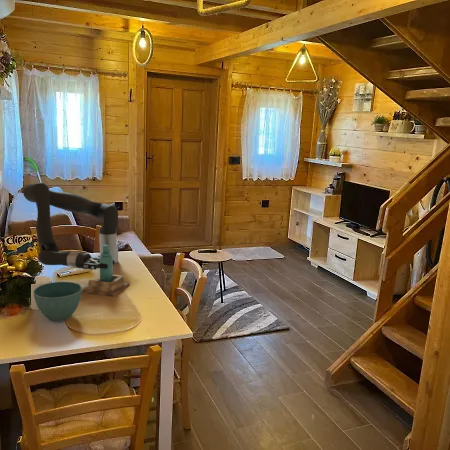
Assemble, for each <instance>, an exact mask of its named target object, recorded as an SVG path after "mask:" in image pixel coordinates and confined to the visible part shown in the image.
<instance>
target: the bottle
mask: <svg viewBox="0 0 450 450" xmlns="http://www.w3.org/2000/svg"><path fill="white" fill-rule="evenodd" d="M99 256H100V263H103V264H108V268H107V269H103V268H99V279H100V281H103V282H110V283H111V282H112V281H113V275H114V272H113V271H114V267H113V266H114V265H113V255H111V252H109V245H103V252H101V255H100V254H99Z"/></svg>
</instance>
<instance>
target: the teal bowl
mask: <svg viewBox="0 0 450 450" xmlns="http://www.w3.org/2000/svg"><path fill="white" fill-rule="evenodd" d="M82 294H83V288H82V285H81V284H79V283H76V282H73V281H56V282H55V281H54V282H53V281H52V283H48V284H44V285H41V286H39V287H37V288H36V289H35V290H34V298H35V301H36V304H37V306H38V308H39V310H38V311H40V313H41V314H42V315H43V316H44V317H45V318H46V319H47V320H48V321H50V322H55V323H56V322H64V321H67V320H68V318H69V319H70V318H71V317H72V316H73V315H74V313H75V311H76V310H77V308H78V306H79V304H80V301H81V298H82ZM66 319H67V320H66Z"/></svg>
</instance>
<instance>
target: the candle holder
mask: <svg viewBox="0 0 450 450" xmlns="http://www.w3.org/2000/svg"><path fill="white" fill-rule="evenodd" d="M34 277H35V280H36V284H31V305H30V304H29V305H30V306H29V307H30V309H32V310H33V311H40V310H39V308H38V306H37V304H36V301H35V298H34V290H35V289H36V288H37V287H39V286H41V285H44V284H48V283H53V278H52V277H51V276H46V275H45V276H43V275H42V276H34Z"/></svg>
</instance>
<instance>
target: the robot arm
mask: <svg viewBox="0 0 450 450" xmlns="http://www.w3.org/2000/svg"><path fill="white" fill-rule="evenodd" d="M22 195H23V197H24V198H25V199H26V200H27V201H29V202H30V203H35V204H36V208H37V218H36V225H35V227H36V235H37V241H38V244H39V245H41V246H44V248H45V249H44V250H41V251H40V252H39V253H38V254H37V255H38V256H37V259H38V261H39V263H41V264H43V265H45V266H65V267H70V268H75V269H81V270H82V269H83V270H95V271H96V270H97V269H99V270H100V268H103V269H107V268H108V264H103V263H100V255H101V252H103V245H109V252H111V255H113V266H114V265H115V264H116V263H118V262H119V245H117V237H118V236H117V230H118V227H119V209H118V208H117V206H115V205H111V204H108V203H104V202H103V203H102V202H95V201H92V200H89V199H88V198H87V197H84V196H81V195H80V194H79V195H78V194H75V193H71V192H67V191H66V192H65V191H55V190H51V189H50V188H49V186H48V185H47V184H46V183H44V182H32V183H29V184H27V185H26V186H25V187H24V188H23V191H22ZM51 207H54V208H57V209H60V210H64V211H67V212H71V213H75V214H80V215H81V214H83V215H89V216H93V217H96V218H98V219H99V220H101V221H103V225H102V226H101V227H99V231H98V232H99V255H97V257H96V256H93V257H92V256H91V254H90V253H88V252H79V251H67V250H61V251H60V249H59V247H58V245H57V243H56V241H55V239H54V233H53V227H52V223H51V222H52V221H51V220H52V219H51Z"/></svg>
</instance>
